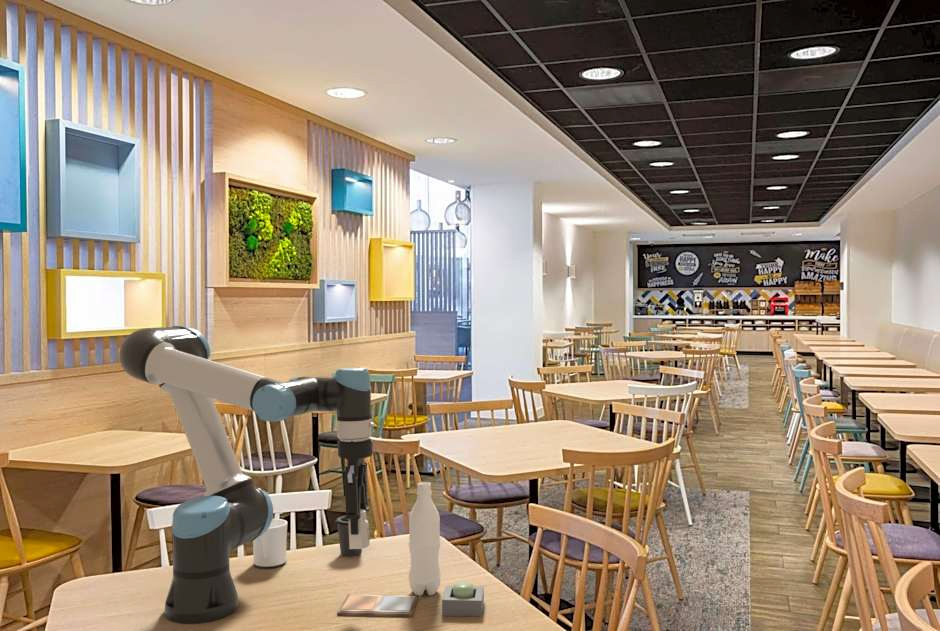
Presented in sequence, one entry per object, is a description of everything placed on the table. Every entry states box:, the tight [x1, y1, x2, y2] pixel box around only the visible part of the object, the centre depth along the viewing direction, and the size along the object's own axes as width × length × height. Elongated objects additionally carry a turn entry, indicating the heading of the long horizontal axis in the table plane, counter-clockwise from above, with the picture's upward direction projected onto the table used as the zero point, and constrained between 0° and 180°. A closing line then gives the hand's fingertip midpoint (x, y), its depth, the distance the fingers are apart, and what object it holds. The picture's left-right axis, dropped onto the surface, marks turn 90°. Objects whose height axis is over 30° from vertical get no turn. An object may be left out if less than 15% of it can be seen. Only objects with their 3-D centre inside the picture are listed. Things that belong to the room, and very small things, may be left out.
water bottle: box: [408, 481, 441, 597], centre depth 187 cm, size 7×7×25 cm
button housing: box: [441, 585, 485, 618], centre depth 178 cm, size 8×8×3 cm
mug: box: [252, 518, 288, 570], centre depth 207 cm, size 11×9×10 cm
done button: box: [452, 581, 474, 598], centre depth 177 cm, size 4×4×3 cm
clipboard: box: [336, 594, 419, 618], centre depth 179 cm, size 16×10×1 cm, turn 86°
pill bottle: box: [348, 509, 370, 549], centre depth 179 cm, size 4×4×8 cm
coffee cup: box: [334, 514, 363, 558], centre depth 216 cm, size 8×8×10 cm
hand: (358, 544), depth 179 cm, fingers closed on pill bottle, 4 cm apart
